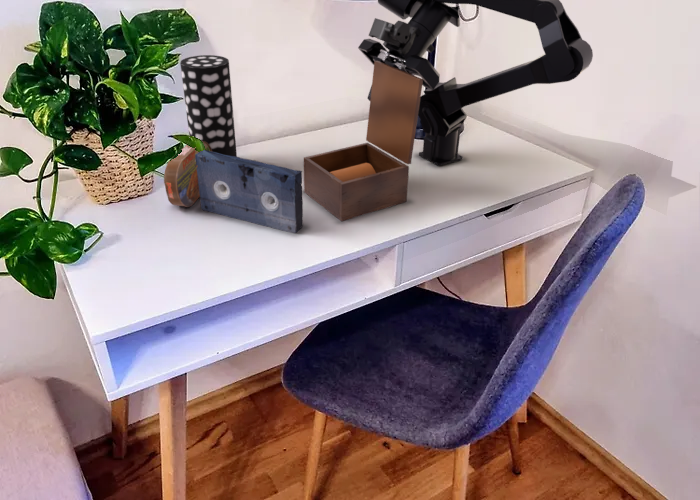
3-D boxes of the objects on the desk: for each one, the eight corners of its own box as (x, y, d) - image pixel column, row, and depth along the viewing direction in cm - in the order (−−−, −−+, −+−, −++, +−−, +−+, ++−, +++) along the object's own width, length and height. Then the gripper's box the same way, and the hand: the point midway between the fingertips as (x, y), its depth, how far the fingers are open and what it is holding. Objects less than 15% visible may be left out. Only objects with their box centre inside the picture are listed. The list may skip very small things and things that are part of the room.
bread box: (341, 221, 102) (341, 184, 99) (304, 192, 111) (303, 157, 107) (406, 201, 108) (409, 166, 105) (366, 175, 117) (367, 142, 114)
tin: (183, 215, 103) (176, 168, 98) (165, 213, 103) (157, 167, 99) (217, 177, 115) (213, 134, 111) (201, 176, 116) (196, 133, 112)
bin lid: (419, 79, 98) (423, 79, 98) (374, 60, 106) (377, 60, 107) (407, 164, 105) (410, 163, 105) (365, 140, 113) (369, 140, 114)
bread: (361, 183, 113) (361, 158, 110) (378, 195, 109) (379, 168, 106) (323, 194, 109) (322, 167, 106) (339, 206, 105) (339, 179, 102)
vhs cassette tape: (304, 227, 100) (302, 170, 95) (294, 235, 98) (292, 177, 93) (211, 202, 107) (204, 148, 102) (200, 209, 105) (193, 154, 100)
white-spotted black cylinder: (184, 171, 118) (170, 64, 107) (209, 155, 124) (198, 53, 114) (222, 179, 115) (211, 70, 104) (245, 162, 122) (237, 58, 111)
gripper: (367, -8, 114) (316, 61, 115) (431, 9, 101) (373, 87, 102) (400, 32, 122) (352, 96, 123) (463, 52, 109) (409, 125, 109)
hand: (369, 100), depth 114 cm, fingers closed
